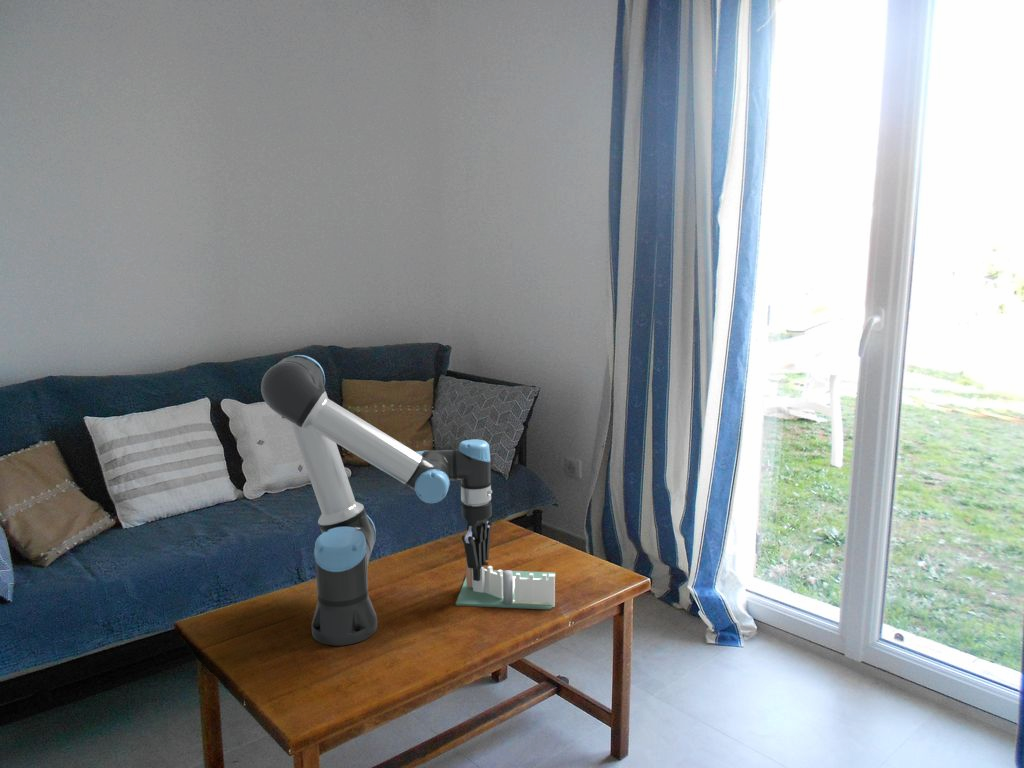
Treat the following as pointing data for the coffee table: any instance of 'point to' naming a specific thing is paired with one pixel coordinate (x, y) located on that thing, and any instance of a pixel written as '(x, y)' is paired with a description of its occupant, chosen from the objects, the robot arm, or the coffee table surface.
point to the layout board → (488, 600)
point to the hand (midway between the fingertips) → (479, 590)
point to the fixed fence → (529, 588)
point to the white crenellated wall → (488, 581)
